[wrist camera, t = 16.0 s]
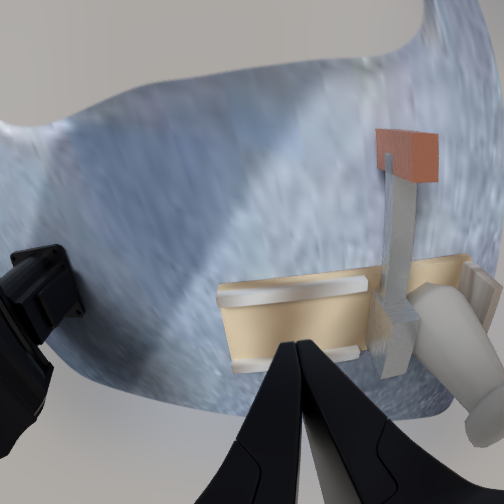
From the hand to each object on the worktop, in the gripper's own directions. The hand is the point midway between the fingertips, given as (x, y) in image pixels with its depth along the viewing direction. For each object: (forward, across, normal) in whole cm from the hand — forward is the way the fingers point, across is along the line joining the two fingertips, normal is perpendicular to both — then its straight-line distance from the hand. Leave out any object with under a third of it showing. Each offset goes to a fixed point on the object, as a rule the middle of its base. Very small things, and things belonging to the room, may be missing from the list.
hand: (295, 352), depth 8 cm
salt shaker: (+11, -11, +8) cm, 18 cm away
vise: (+12, -6, +8) cm, 16 cm away
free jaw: (+11, -7, +3) cm, 14 cm away
